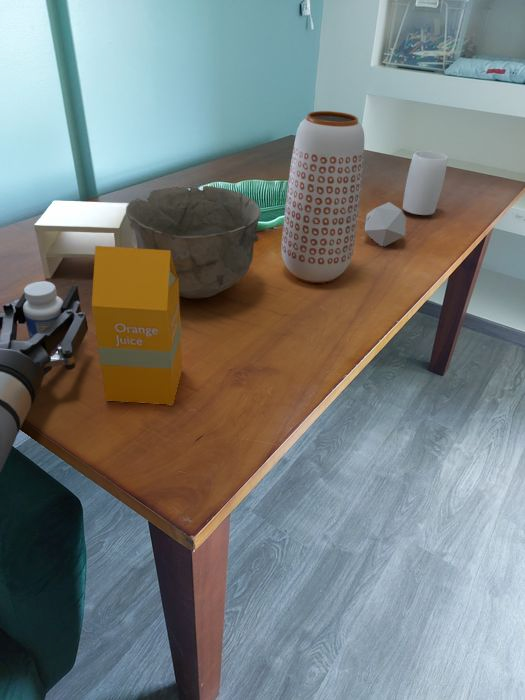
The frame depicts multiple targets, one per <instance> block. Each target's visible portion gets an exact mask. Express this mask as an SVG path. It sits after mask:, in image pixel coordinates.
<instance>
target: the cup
mask: <svg viewBox="0 0 525 700" xmlns="http://www.w3.org/2000/svg"><path fill="white" fill-rule="evenodd" d="M448 161H449V157H448V155H446V154H444V153H441V152H438V151H434V150H433V151H432V150H417V151H415V152H413V154H412V158H411V161H410V165H409V169H408V173H407V177H406V182H405V188H404V193H403V201H402V210H404V211H405V212H407V213H410V214H413V215H421V216H429V215H433V214H435V212H436V209H437V206H438V204H439V199H440V198H441V197H440V196H441V192H442V189H443V186H444V181H445V177H446V173H447V172H446V171H447V168H448V167H447V166H448Z"/></svg>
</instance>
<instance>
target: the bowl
mask: <svg viewBox="0 0 525 700" xmlns="http://www.w3.org/2000/svg"><path fill="white" fill-rule="evenodd" d="M128 203H129V204H128V205H127V206H126V214H127V217H128V219H129V221H130V223H131V224H130V226H131V227H132V228H133V233H134V235H135V240H136V242H135V243H136V248H138V249H154V250H170V251H171V256H172V259H173V263H174V267H175V271H176V275H177V278H178V282H179V297H182V298H186V299H205V298H211V297H213V296H216V295H217V294H219V293H221V292H223V291H226V290H227V289H229V288H231V287H233V286H234V285H236V283H238V282H239V281H240V280H241V279H242V278H243V277H244V276H245V274H247V272H248V270H249V269H250V267H251V265H252V263H253V259H254V244H255V243H256V242H259V236H258V235H257V234H256V231H257V228H258V223H259V220H260V218H261V215H262V211H261V207H260V206H259V204H258V203H257V202H256V201H255V200H254V199H252V198H251V197H249V196H247V195H245V194H243V193H241V192H239V191H235V190H231V189H228V188H224V187H216V186H210V185H204V186H202V190H201V189H200V188H199V187H197V186H190V188H188V187H181V186H168V187H164V188H157V189H153V190H151V191H149V194H148V197H147V198H146V200H143V199H141V198H139V197H136V198H135V199H132V200H131V201H129V202H128Z"/></svg>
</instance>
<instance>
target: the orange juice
mask: <svg viewBox="0 0 525 700" xmlns="http://www.w3.org/2000/svg"><path fill="white" fill-rule="evenodd" d="M93 263H94V265H93V279H92V293H91V295H92V296H91V308H92V314H93V323H94V329H95V337H96V341H97V351H98V358H99V365H100V367H101V375H102V382H103V388H104V394H105V395H104V396H105V401H106V400H109V401H110V400H112V401H123V402H124V401H125V402H127V401H128V402H145V403H155V404H156V403H158V404H168V405H167V406H170V405H169V404H172V405H173V403H174V404H175V401H176V397H175V395H176V396H177V393H178V389H179V385H180V381H181V378H182V374H181V373H183V356H182V355H183V354H182V323H181V321H182V319H181V310H180V309H181V307H180V296H179V282H178V278H177V275H176V271H175V267H174V263H173V259H172V256H171V251H170V250H154V249H138V248H137V247H136V248H135V247H134V248H122V247H106V246H95V258H94V262H93ZM180 377H181V378H180ZM179 380H180V381H179ZM178 384H179V385H178ZM177 388H178V389H177ZM176 392H177V393H176ZM174 400H175V401H174ZM123 402H122V403H123ZM155 404H154V405H155ZM173 406H174V405H173Z"/></svg>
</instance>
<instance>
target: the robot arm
mask: <svg viewBox="0 0 525 700" xmlns="http://www.w3.org/2000/svg"><path fill="white" fill-rule="evenodd" d="M26 301H27V300H26V298H25V293H24V292H23V294H22V295H21V296H20V298H19V299H14V300H13V302H12V303H8V302H7V303H5V304H3V305H2V308H3V312H0V332H1V333H0V474H1V472H2V471H3V468H4V466H5V464H6V462H7V460H8V457H9V454H10V452H11V451H12V448H13V446H14V443H15V441H16V439H17V436H18V434H19V432H20V430H21V428H22V427H23V424H24V422H25V420H26V418H27V416H28V414H29V412H30V409H31V406H33V404H34V402H35V399H36V397H37V396H38V393H39V391H40V389H41V387H42V383H43V381H44V377H45V376H46V375H47V374H48V373H50V372H51V371H52V369H53V367H60V366H64V368H65V370H70V371H71V370H74V369H75V368H76V362H75V357H76V356H77V354H78V352H79V349H80V347H81V345H82V343H83V341H84V339H85V337H86V334H87V333H88V331H89V325H88V319H87V313H86V312H84V311H82V308H81V300H80V294H79V287H78V285H71V287H70V289H69V290H68V293H67V294H66V296H65V298H64V300H63V304H62V306H61V308H60V309H61V315H60V316H59V317H58V318H57V319H56V320H55V321H54V322H53V323H52V324H50V325H49V326H48V327H47V328H46V329H45V330H44V331H43V332H42V333H41V334H39V333H37V334H35V335H34V336H33V337H32V338H31V339H30V338H29V340H20V339H17V336H18V335H17V334H18V324H19V325H25V324H26V320H25V316H24V312H23V305H24V303H25V302H26ZM62 340H63V341H62ZM61 341H62V344H61V347H58V348H57V349H58V351H57V352H56V354H55V355H51V352H52V350H53V349H54V348H55V347H56V346H57V345H58V344H59V343H60V342H61Z"/></svg>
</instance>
